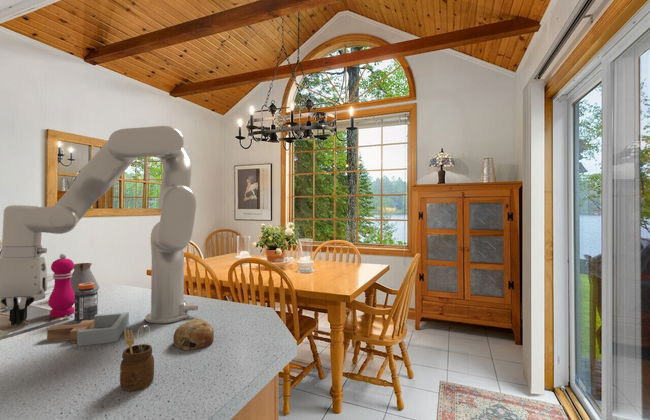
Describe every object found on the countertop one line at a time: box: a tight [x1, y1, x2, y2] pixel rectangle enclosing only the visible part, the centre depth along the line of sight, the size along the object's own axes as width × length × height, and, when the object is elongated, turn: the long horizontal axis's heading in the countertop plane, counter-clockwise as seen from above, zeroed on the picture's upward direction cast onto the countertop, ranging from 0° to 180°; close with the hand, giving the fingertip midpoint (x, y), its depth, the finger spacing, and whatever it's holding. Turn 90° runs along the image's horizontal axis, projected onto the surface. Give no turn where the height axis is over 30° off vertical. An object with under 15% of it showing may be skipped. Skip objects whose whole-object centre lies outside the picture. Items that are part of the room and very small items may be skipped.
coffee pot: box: [70, 262, 100, 293], centre depth 128 cm, size 21×12×15 cm, turn 35°
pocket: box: [76, 311, 130, 347], centre depth 92 cm, size 8×15×4 cm, turn 20°
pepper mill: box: [47, 253, 75, 318], centre depth 109 cm, size 7×7×20 cm
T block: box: [46, 320, 96, 344], centre depth 90 cm, size 9×9×3 cm
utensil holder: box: [119, 325, 155, 392], centre depth 66 cm, size 6×6×12 cm
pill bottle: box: [73, 283, 99, 323], centre depth 104 cm, size 6×6×11 cm
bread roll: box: [173, 318, 215, 351], centre depth 87 cm, size 10×10×8 cm
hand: (18, 323), depth 86 cm, fingers closed
